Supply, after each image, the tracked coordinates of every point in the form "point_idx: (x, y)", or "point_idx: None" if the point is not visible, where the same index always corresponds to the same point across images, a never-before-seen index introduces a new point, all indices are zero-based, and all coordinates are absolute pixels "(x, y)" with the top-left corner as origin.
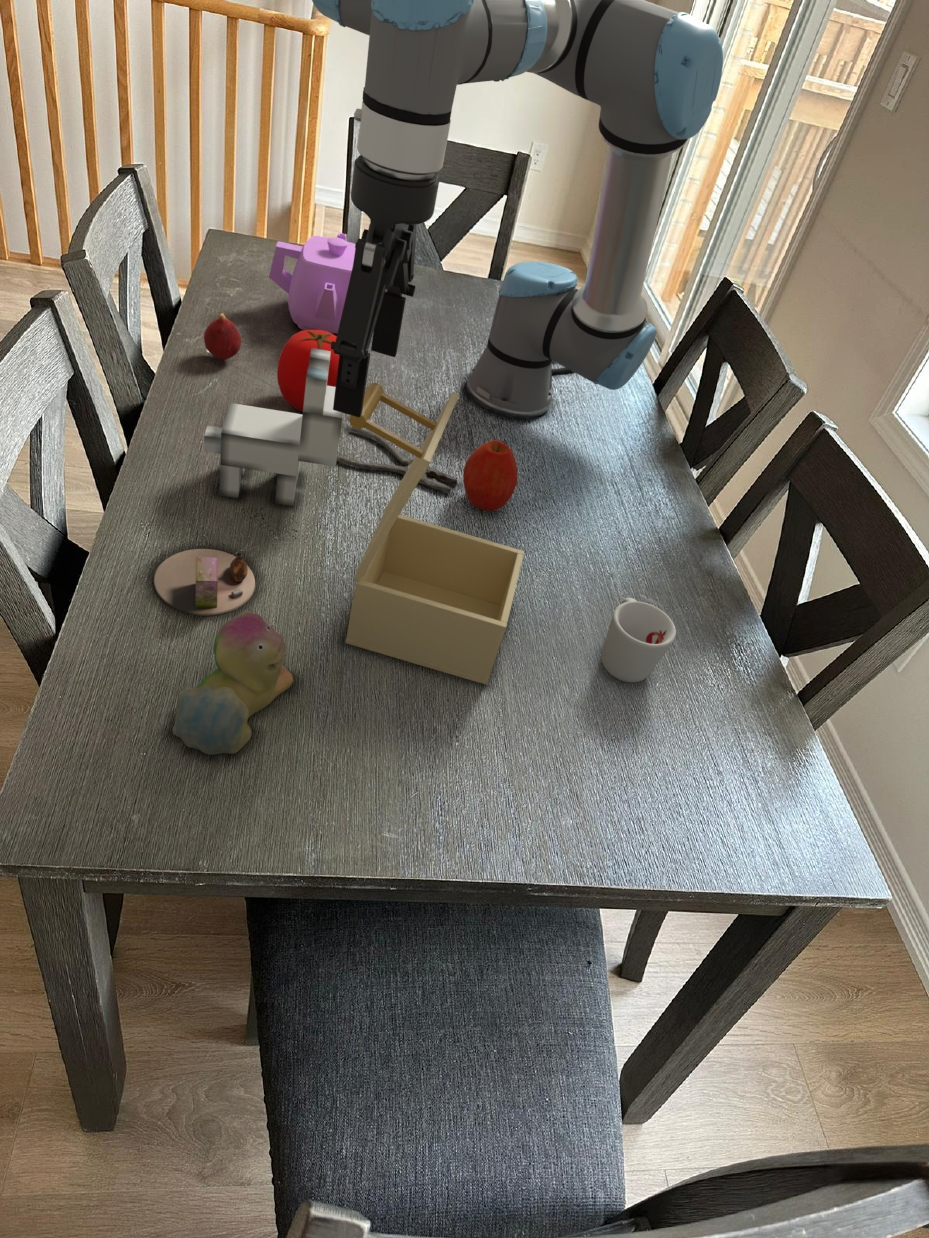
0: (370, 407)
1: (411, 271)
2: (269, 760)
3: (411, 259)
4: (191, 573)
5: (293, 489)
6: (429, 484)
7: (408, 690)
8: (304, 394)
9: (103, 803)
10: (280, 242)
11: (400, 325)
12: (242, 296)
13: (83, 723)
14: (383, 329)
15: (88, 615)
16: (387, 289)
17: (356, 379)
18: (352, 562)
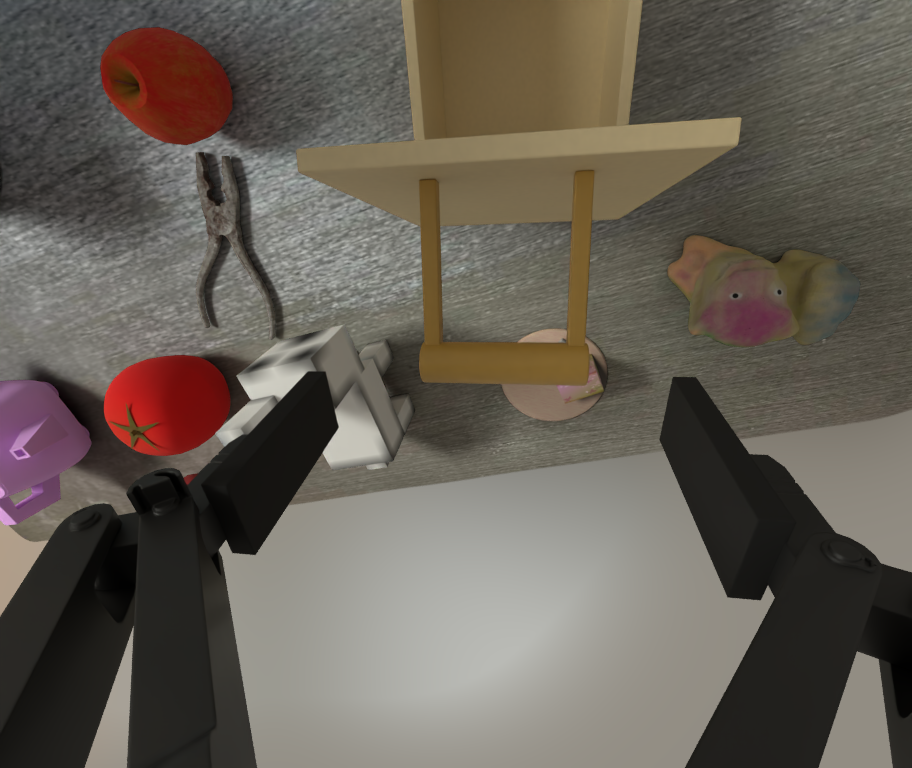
0: (530, 356)
1: (80, 551)
2: (826, 215)
3: (53, 628)
4: (548, 392)
5: (379, 351)
6: (236, 192)
7: (668, 72)
8: (218, 399)
9: (896, 349)
10: (4, 522)
11: (272, 423)
12: (97, 495)
13: (785, 401)
14: (304, 448)
15: (638, 446)
16: (219, 546)
17: (778, 479)
18: (446, 240)
